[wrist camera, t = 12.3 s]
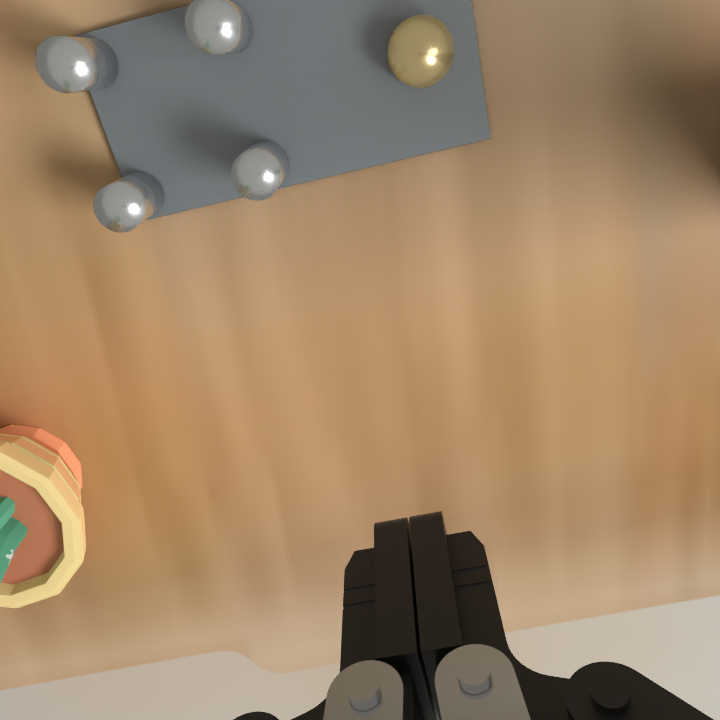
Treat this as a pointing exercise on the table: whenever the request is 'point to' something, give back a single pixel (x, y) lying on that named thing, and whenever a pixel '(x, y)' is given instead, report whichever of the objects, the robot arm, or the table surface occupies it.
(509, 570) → the table surface
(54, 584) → the potted cactus
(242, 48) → the cylinder
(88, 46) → the cylinder
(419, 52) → the brushed gold puck
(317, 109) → the mat
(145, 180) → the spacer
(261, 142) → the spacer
